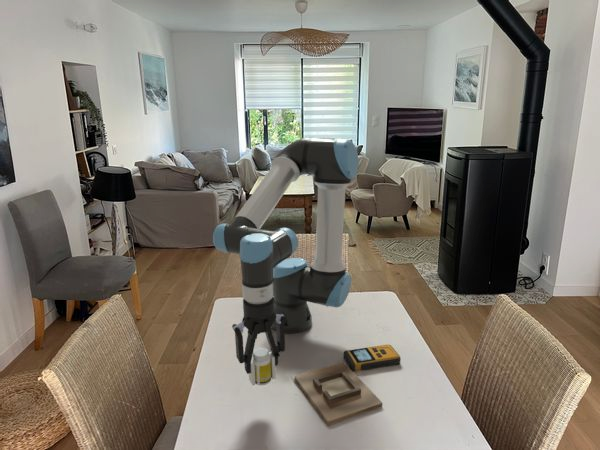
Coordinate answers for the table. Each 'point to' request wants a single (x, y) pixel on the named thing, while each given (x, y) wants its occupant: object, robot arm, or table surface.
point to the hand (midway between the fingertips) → (262, 378)
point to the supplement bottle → (262, 366)
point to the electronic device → (371, 358)
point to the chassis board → (337, 393)
